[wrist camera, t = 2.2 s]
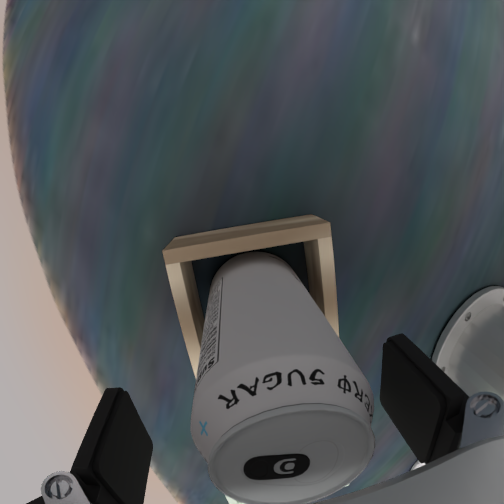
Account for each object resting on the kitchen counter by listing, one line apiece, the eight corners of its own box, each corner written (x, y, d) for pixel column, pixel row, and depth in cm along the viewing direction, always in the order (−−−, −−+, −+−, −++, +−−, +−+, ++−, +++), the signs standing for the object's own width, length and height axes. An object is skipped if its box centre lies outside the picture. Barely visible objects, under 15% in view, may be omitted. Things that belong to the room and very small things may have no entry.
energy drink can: (294, 329, 23) (366, 500, 8) (211, 330, 22) (196, 516, 8) (299, 248, 21) (418, 374, 7) (209, 247, 21) (172, 391, 6)
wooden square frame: (323, 336, 23) (339, 363, 19) (202, 357, 23) (199, 389, 19) (311, 214, 21) (330, 222, 17) (174, 237, 21) (162, 250, 17)
